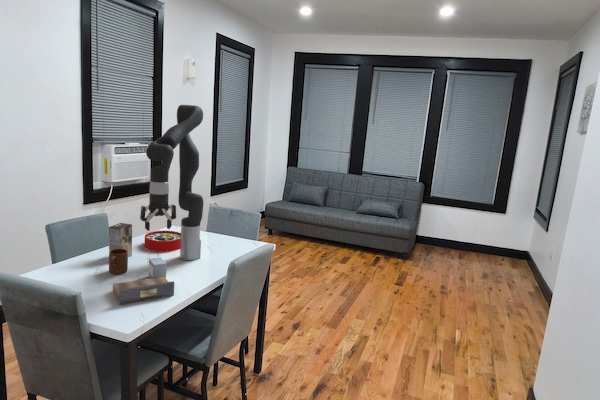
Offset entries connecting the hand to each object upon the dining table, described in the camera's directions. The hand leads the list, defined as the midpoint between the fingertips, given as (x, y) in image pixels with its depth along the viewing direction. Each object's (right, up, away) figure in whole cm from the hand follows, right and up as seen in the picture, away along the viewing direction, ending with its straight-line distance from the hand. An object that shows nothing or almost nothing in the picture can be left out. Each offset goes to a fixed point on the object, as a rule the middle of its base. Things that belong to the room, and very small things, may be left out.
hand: (158, 229), depth 170 cm
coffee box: (-27, -16, +25) cm, 40 cm away
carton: (-2, -22, +4) cm, 22 cm away
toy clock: (-14, -13, +47) cm, 51 cm away
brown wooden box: (-2, -24, -11) cm, 27 cm away
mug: (-20, -20, +5) cm, 29 cm away
